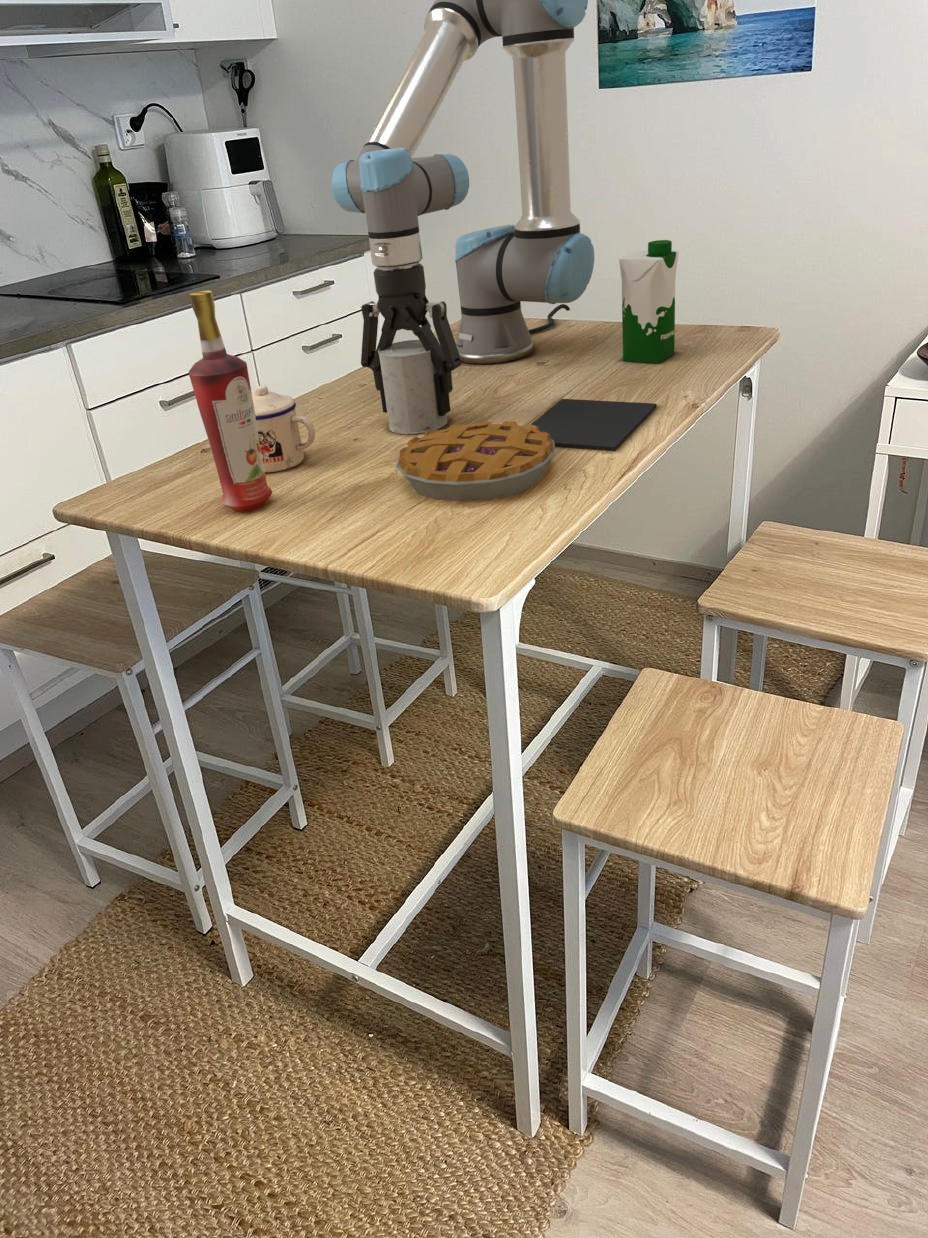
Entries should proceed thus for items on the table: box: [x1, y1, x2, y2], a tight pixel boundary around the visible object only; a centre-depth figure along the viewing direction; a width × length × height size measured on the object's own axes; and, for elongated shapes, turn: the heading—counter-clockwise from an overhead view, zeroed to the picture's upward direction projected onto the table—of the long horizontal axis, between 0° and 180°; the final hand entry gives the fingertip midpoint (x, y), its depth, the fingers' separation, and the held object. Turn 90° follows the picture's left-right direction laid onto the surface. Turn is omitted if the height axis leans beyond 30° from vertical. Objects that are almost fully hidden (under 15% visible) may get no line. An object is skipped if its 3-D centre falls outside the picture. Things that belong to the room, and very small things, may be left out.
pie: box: [395, 420, 556, 502], centre depth 129 cm, size 22×22×5 cm
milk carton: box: [618, 239, 679, 364], centre depth 168 cm, size 9×9×20 cm
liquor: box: [188, 290, 273, 513], centre depth 122 cm, size 7×7×28 cm
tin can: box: [378, 339, 448, 435], centre depth 149 cm, size 10×10×12 cm
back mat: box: [529, 398, 658, 452], centre depth 144 cm, size 20×16×1 cm
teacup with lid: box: [252, 385, 316, 473], centre depth 139 cm, size 12×9×12 cm
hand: (416, 411), depth 151 cm, fingers closed on tin can, 9 cm apart
